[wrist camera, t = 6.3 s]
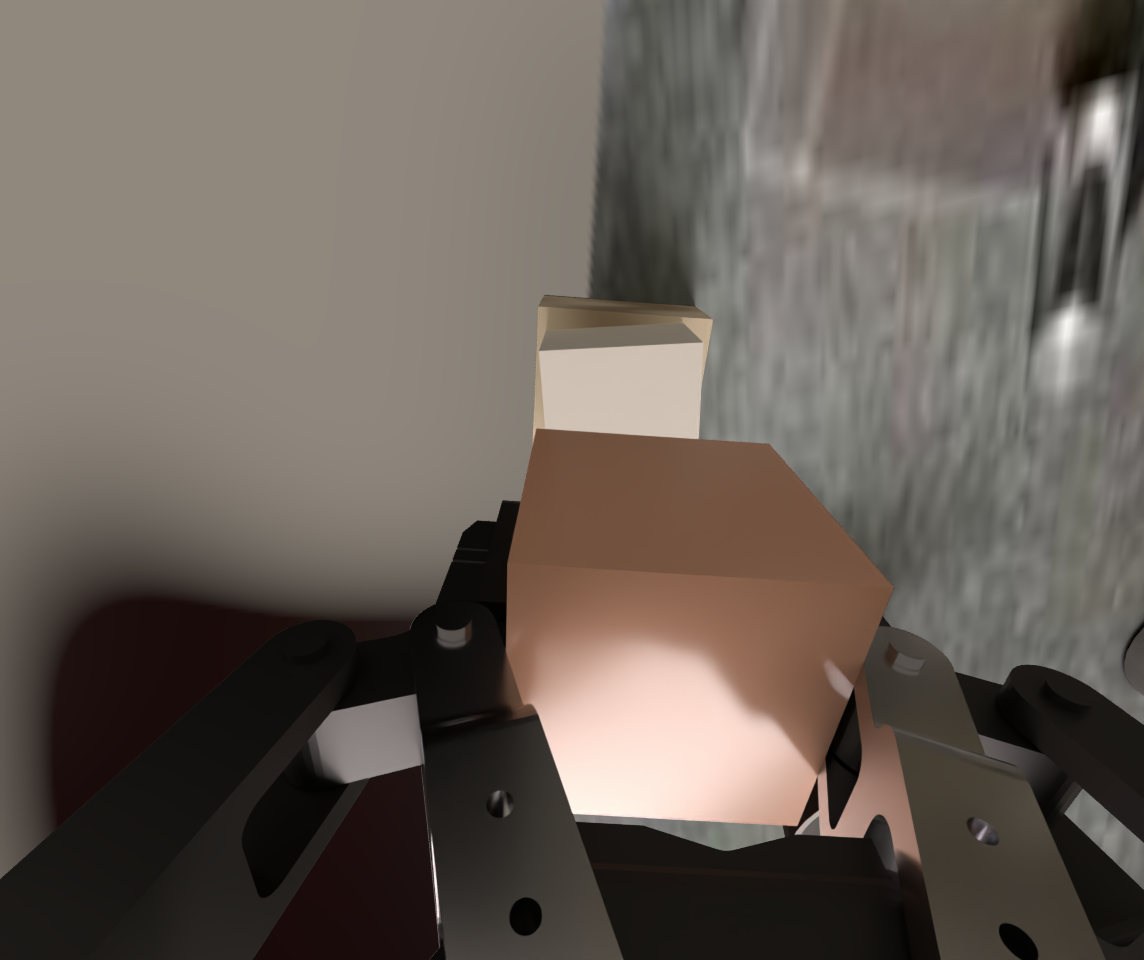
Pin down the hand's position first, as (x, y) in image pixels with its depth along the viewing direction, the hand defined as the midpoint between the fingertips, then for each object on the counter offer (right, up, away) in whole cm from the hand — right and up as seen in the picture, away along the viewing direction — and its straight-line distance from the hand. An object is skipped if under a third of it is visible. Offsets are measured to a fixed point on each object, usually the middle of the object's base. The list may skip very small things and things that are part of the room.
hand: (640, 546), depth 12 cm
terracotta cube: (0, 0, 0) cm, 0 cm away
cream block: (0, +5, +11) cm, 12 cm away
